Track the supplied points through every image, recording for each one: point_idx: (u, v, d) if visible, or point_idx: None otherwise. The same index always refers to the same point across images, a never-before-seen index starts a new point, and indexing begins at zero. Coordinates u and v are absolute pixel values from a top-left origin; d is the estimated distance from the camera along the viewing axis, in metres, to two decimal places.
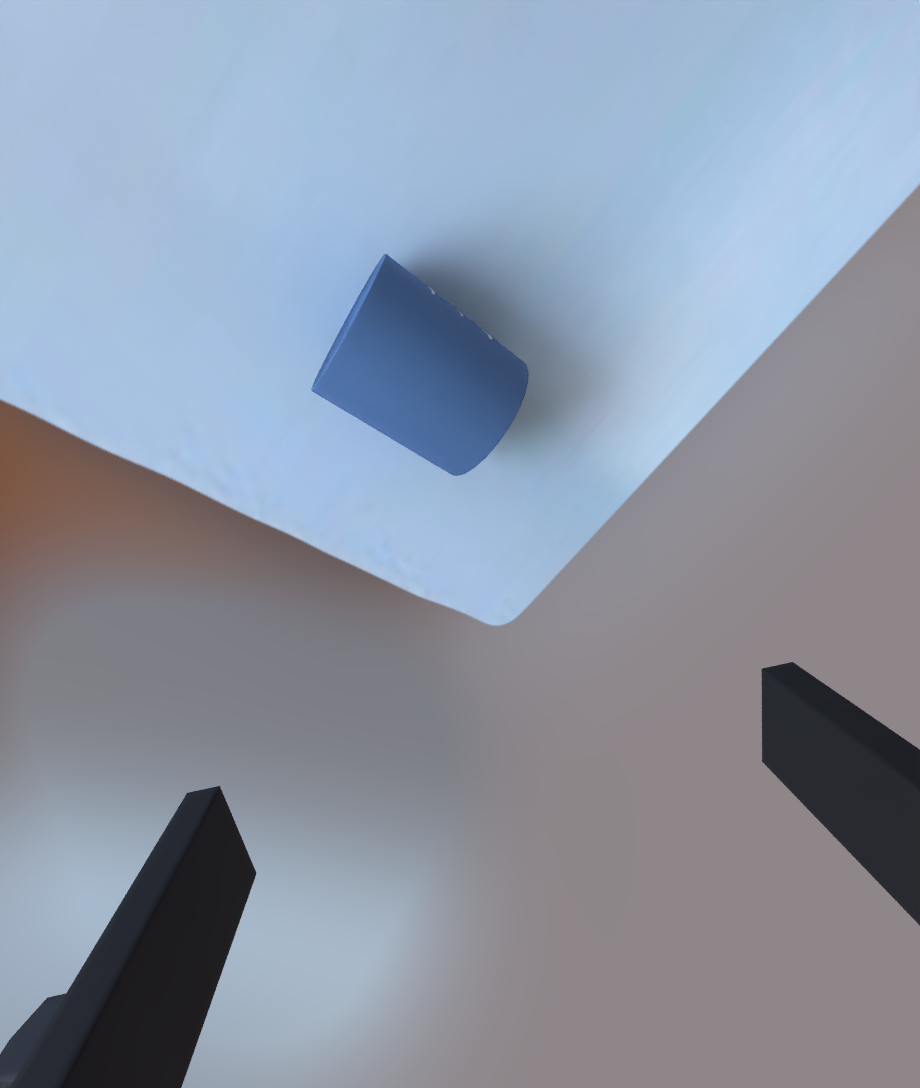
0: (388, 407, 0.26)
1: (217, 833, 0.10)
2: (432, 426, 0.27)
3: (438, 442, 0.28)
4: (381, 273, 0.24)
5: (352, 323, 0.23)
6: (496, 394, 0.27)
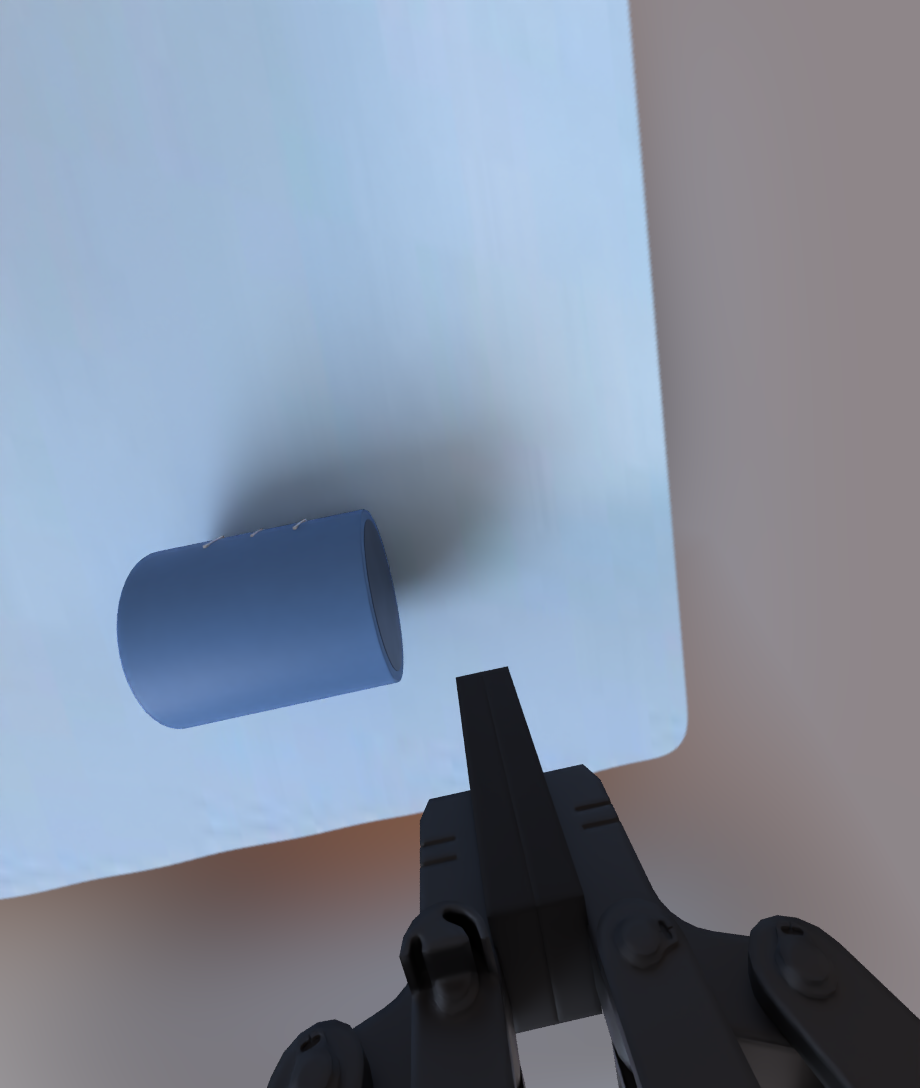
0: (236, 694, 0.20)
1: None
2: (293, 673, 0.19)
3: (321, 680, 0.20)
4: (127, 584, 0.20)
5: (121, 658, 0.19)
6: (325, 582, 0.19)
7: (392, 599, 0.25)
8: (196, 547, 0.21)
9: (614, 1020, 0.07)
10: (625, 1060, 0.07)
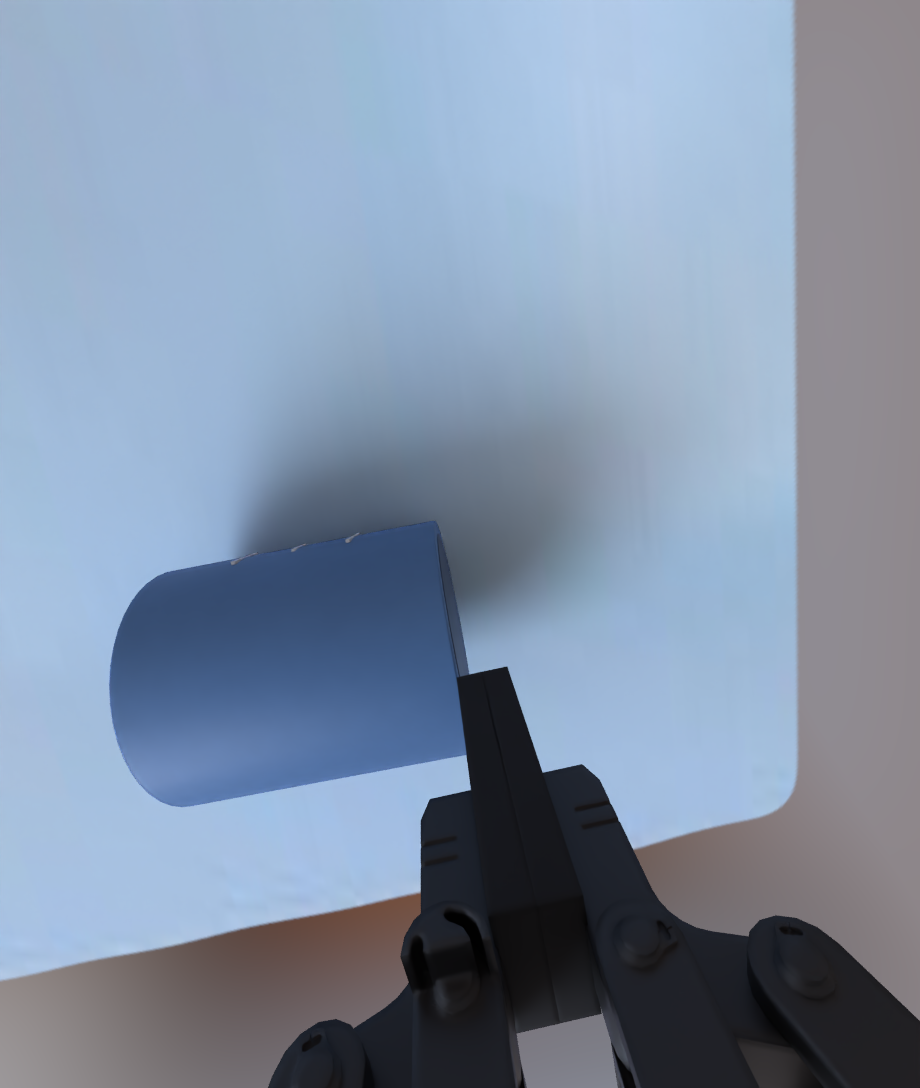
0: (262, 765, 0.14)
1: None
2: (341, 737, 0.14)
3: (378, 748, 0.14)
4: (131, 608, 0.15)
5: (112, 709, 0.14)
6: (389, 611, 0.14)
7: (462, 639, 0.20)
8: (223, 564, 0.17)
9: (613, 1020, 0.07)
10: (623, 1060, 0.07)
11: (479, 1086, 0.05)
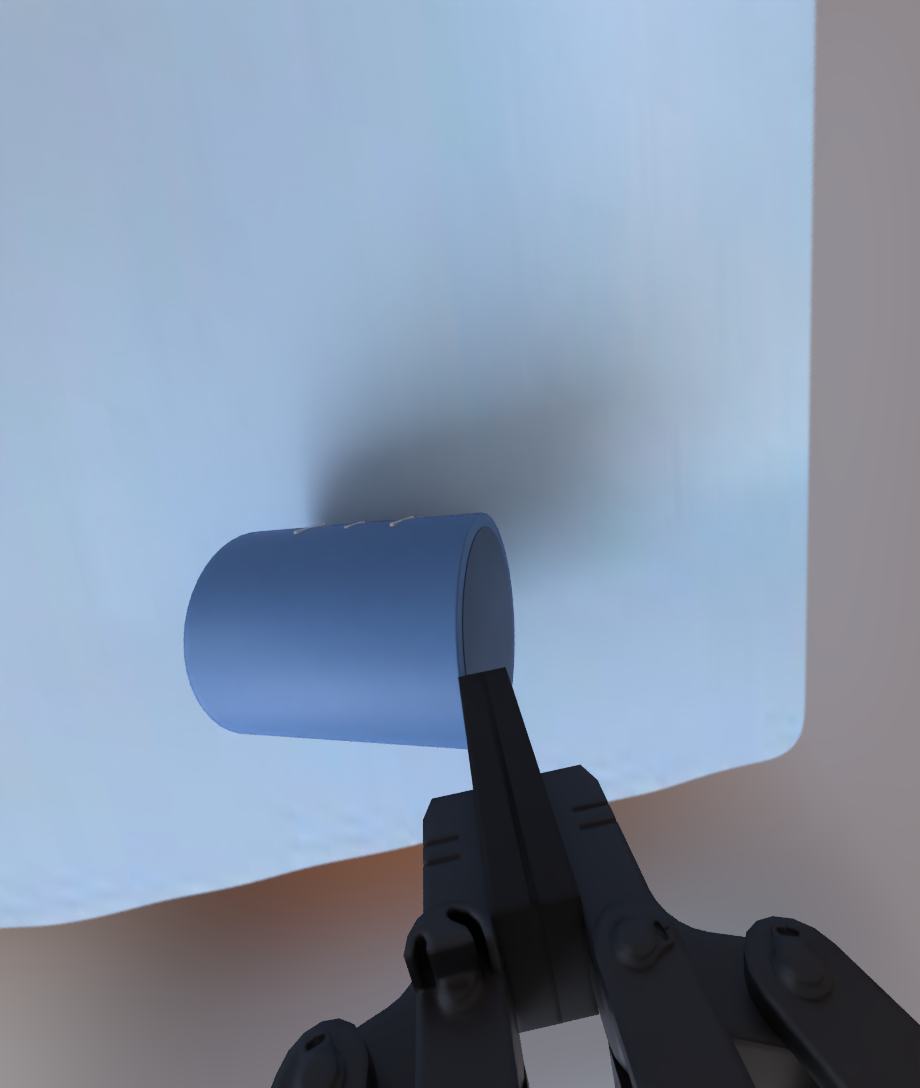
0: (291, 716, 0.16)
1: None
2: (353, 709, 0.15)
3: (386, 725, 0.15)
4: (211, 562, 0.18)
5: (185, 644, 0.17)
6: (405, 601, 0.14)
7: (506, 633, 0.20)
8: (289, 532, 0.19)
9: (610, 1021, 0.07)
10: (621, 1061, 0.07)
11: (482, 1085, 0.05)
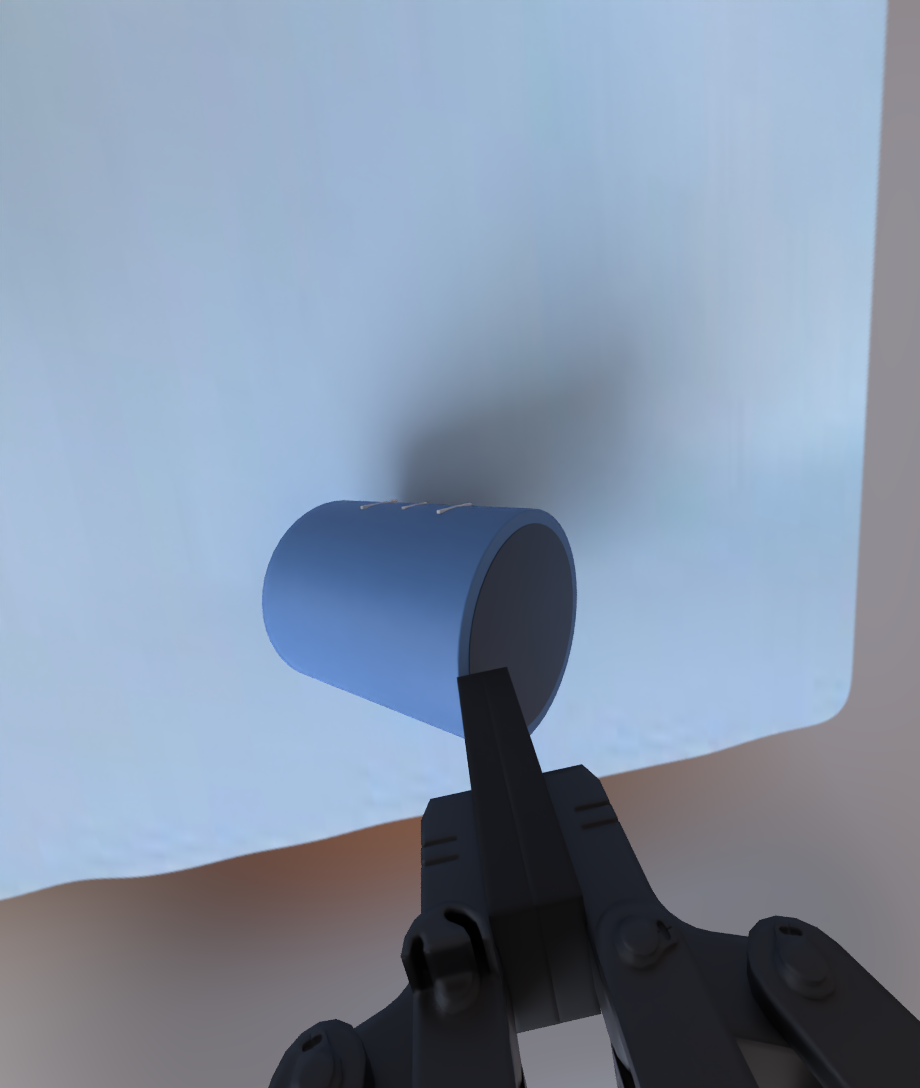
0: (333, 674, 0.18)
1: None
2: (376, 682, 0.16)
3: (403, 704, 0.16)
4: (293, 526, 0.20)
5: (263, 594, 0.19)
6: (423, 592, 0.14)
7: (556, 635, 0.19)
8: (360, 506, 0.20)
9: (613, 1020, 0.07)
10: (623, 1060, 0.07)
11: (479, 1086, 0.05)
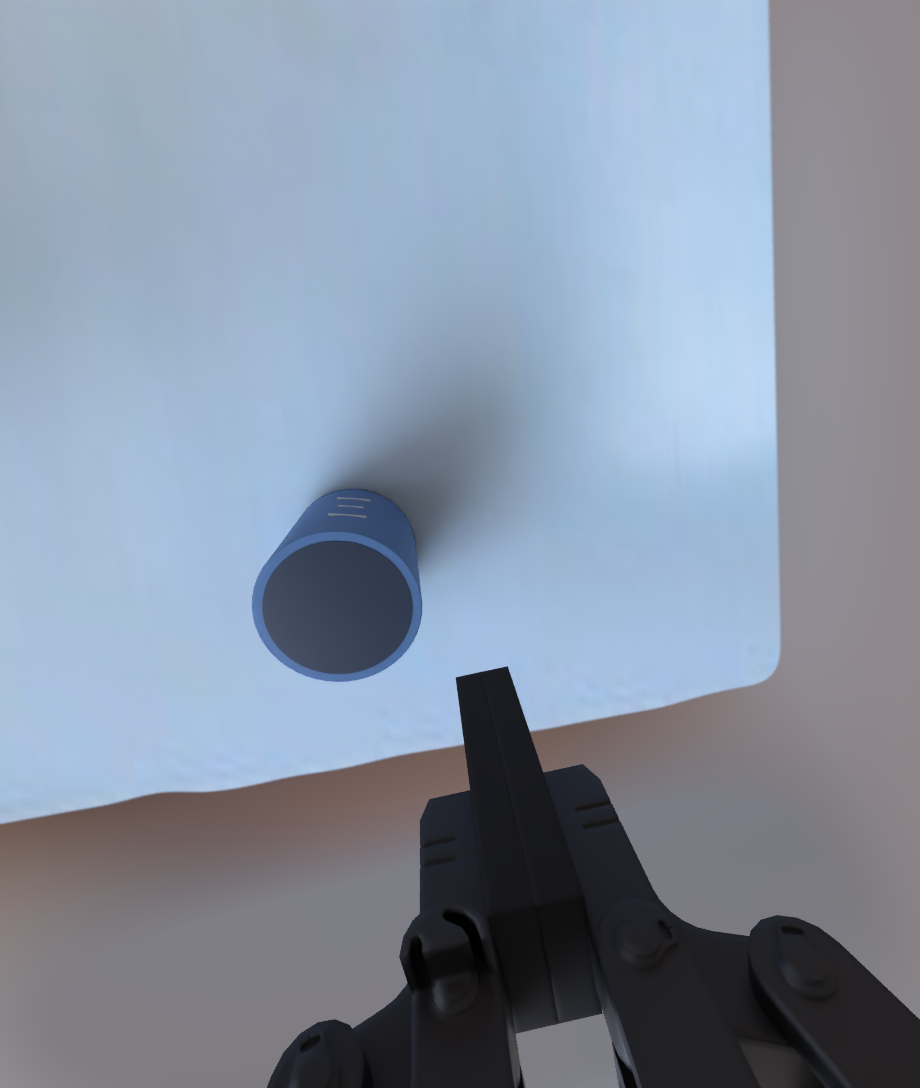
0: None
1: None
2: None
3: None
4: (321, 497, 0.32)
5: None
6: None
7: (379, 631, 0.25)
8: (344, 497, 0.30)
9: (614, 1020, 0.07)
10: (625, 1060, 0.07)
11: (478, 1086, 0.05)
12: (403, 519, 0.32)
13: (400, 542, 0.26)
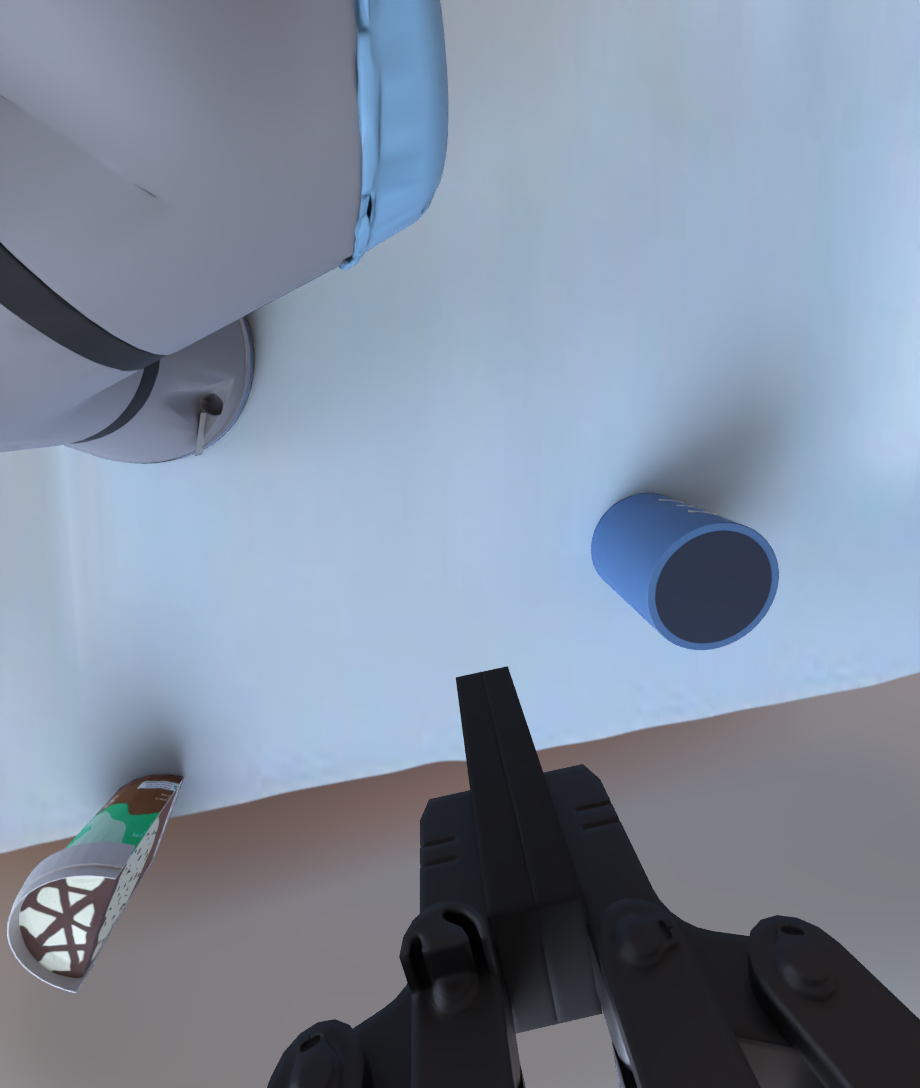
0: (609, 575, 0.35)
1: None
2: (622, 580, 0.33)
3: (629, 595, 0.32)
4: (623, 499, 0.38)
5: (596, 528, 0.38)
6: (653, 542, 0.30)
7: (740, 608, 0.30)
8: (660, 499, 0.35)
9: (614, 1020, 0.07)
10: (625, 1060, 0.07)
11: (478, 1086, 0.05)
12: None
13: None
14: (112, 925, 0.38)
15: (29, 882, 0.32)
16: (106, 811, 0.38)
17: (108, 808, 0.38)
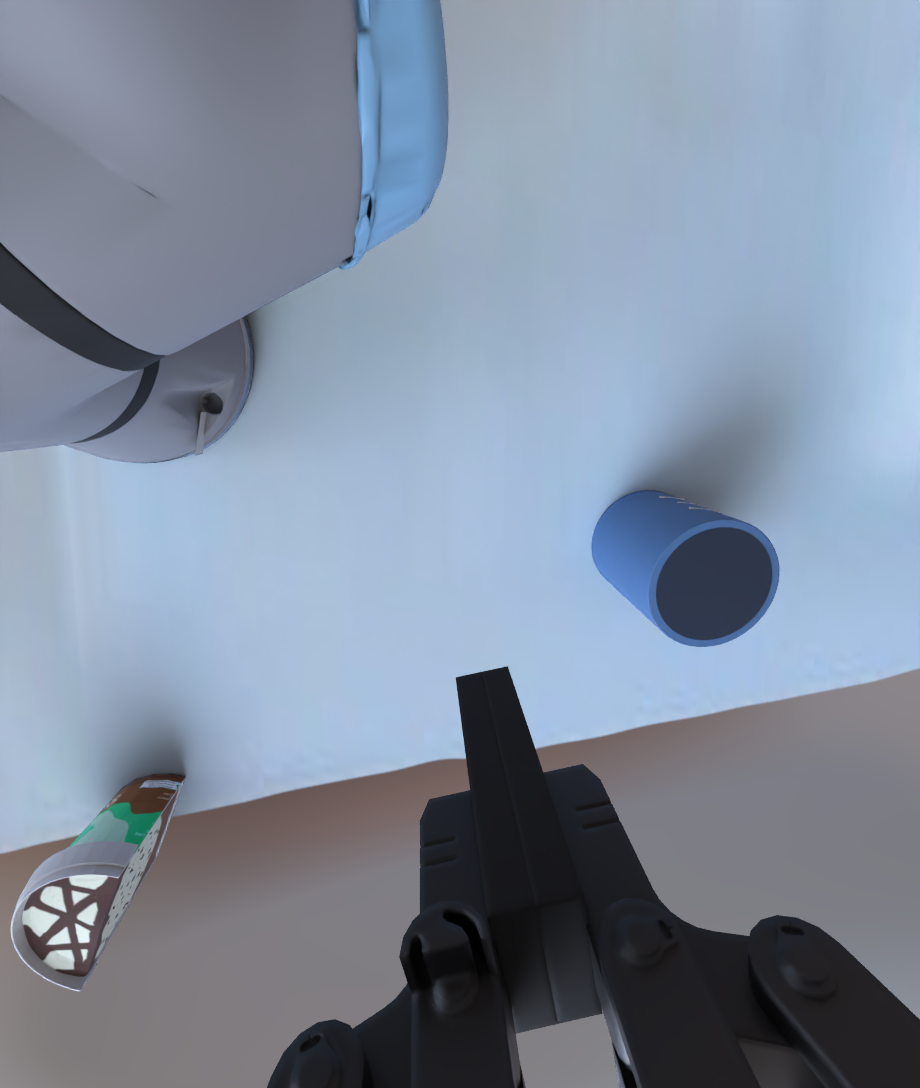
0: (610, 572, 0.35)
1: None
2: (623, 578, 0.33)
3: (630, 592, 0.32)
4: (624, 497, 0.38)
5: (596, 526, 0.38)
6: (654, 540, 0.30)
7: (741, 604, 0.30)
8: (661, 496, 0.35)
9: (614, 1020, 0.07)
10: (625, 1059, 0.07)
11: (478, 1087, 0.05)
12: None
13: None
14: (115, 924, 0.38)
15: (32, 881, 0.32)
16: (109, 810, 0.38)
17: (111, 807, 0.38)
